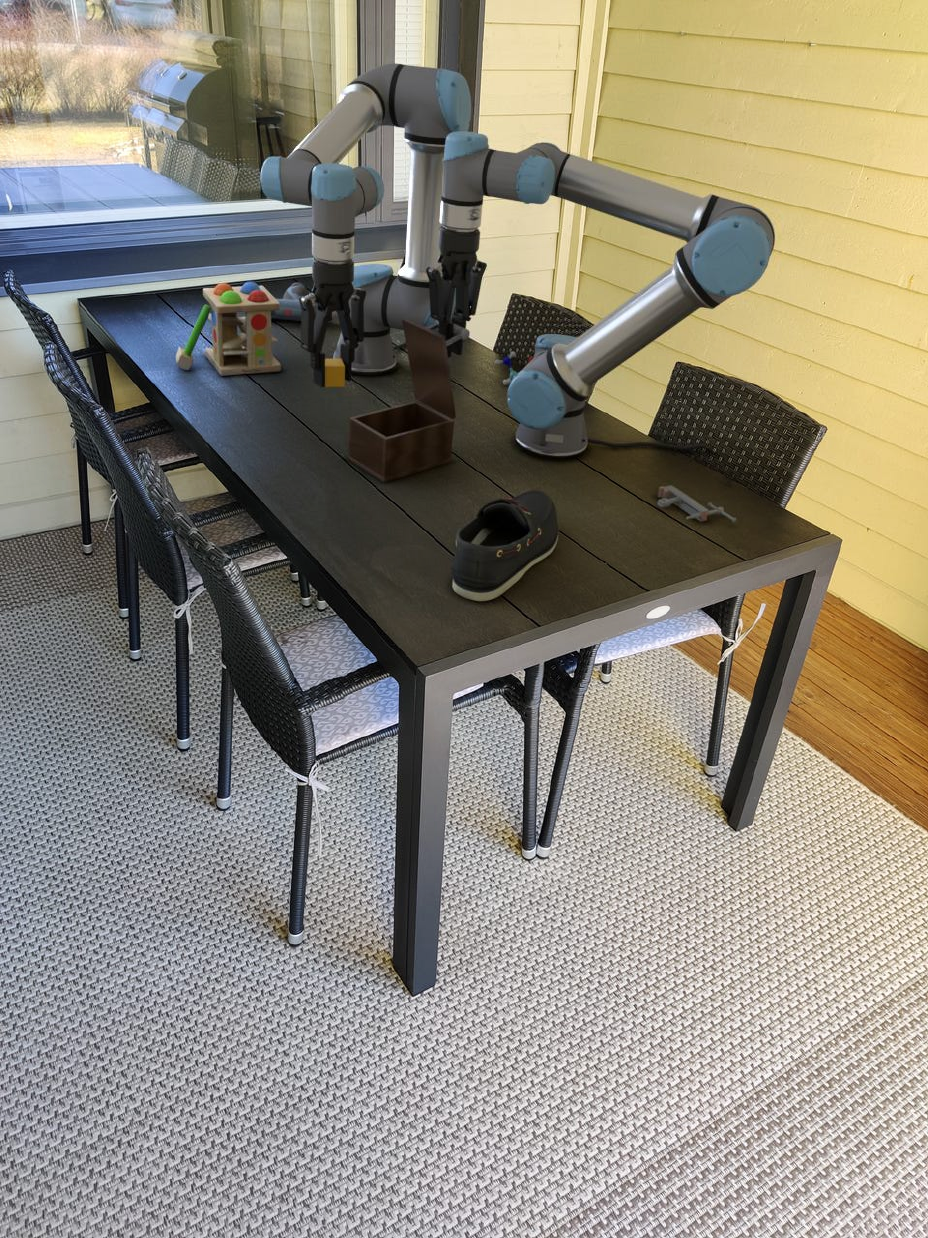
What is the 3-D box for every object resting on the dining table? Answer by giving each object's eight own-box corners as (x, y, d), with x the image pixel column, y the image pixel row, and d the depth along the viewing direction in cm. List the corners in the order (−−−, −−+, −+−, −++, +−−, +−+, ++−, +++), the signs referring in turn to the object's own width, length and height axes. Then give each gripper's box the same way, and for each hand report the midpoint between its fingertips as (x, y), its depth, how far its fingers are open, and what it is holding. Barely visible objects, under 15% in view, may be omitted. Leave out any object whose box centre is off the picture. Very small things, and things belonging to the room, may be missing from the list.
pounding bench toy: (183, 379, 220) (176, 299, 210) (169, 357, 231) (162, 280, 221) (282, 371, 230) (280, 294, 220) (264, 350, 240) (262, 276, 230)
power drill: (344, 304, 276) (335, 327, 259) (277, 298, 275) (264, 321, 258) (344, 285, 273) (335, 306, 256) (277, 279, 272) (264, 300, 255)
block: (323, 387, 188) (323, 366, 186) (320, 379, 191) (320, 358, 189) (344, 386, 189) (345, 365, 187) (341, 378, 192) (341, 358, 190)
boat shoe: (583, 534, 177) (590, 481, 172) (488, 608, 153) (493, 549, 148) (521, 514, 183) (526, 462, 178) (421, 583, 159) (423, 525, 154)
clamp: (647, 488, 189) (686, 480, 193) (645, 499, 190) (684, 490, 195) (698, 524, 178) (739, 515, 183) (696, 535, 180) (736, 525, 184)
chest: (384, 482, 187) (385, 439, 182) (348, 459, 194) (348, 417, 189) (450, 462, 197) (454, 420, 192) (414, 441, 204) (416, 400, 199)
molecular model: (539, 386, 226) (526, 343, 224) (502, 400, 229) (488, 358, 228) (551, 385, 236) (539, 344, 235) (515, 398, 240) (503, 358, 238)
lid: (441, 337, 179) (474, 319, 183) (401, 319, 186) (434, 302, 190) (452, 419, 191) (483, 401, 195) (415, 399, 198) (445, 381, 202)
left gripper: (301, 270, 169) (303, 397, 183) (386, 258, 180) (382, 379, 193) (277, 258, 174) (281, 384, 187) (362, 247, 184) (359, 367, 198)
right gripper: (441, 235, 171) (432, 366, 184) (504, 228, 180) (491, 353, 193) (414, 225, 175) (408, 354, 189) (477, 218, 184) (466, 341, 197)
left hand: (332, 381), depth 190 cm, fingers closed on block, 5 cm apart
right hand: (450, 353), depth 191 cm, fingers closed on lid, 2 cm apart
